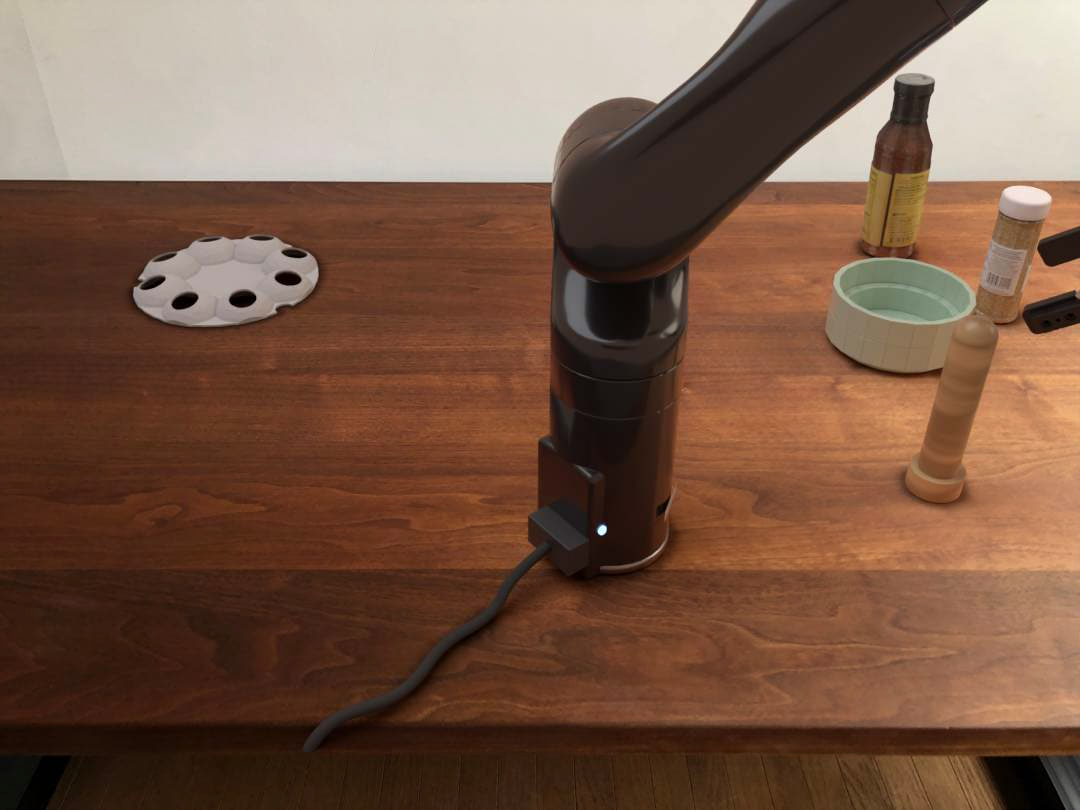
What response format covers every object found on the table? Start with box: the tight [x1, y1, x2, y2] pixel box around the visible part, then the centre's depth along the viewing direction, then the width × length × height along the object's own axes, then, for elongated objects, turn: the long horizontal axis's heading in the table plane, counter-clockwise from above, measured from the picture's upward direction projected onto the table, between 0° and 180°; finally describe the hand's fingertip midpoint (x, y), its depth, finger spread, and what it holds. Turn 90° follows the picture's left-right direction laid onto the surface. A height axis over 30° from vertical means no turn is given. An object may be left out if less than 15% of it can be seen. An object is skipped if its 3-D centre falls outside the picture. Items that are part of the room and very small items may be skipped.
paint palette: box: [132, 233, 320, 328], centre depth 114 cm, size 20×20×2 cm
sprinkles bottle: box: [974, 185, 1053, 324], centre depth 106 cm, size 5×5×14 cm
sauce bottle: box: [860, 72, 936, 259], centre depth 116 cm, size 7×6×20 cm
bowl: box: [824, 257, 976, 374], centre depth 103 cm, size 13×13×6 cm
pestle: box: [904, 314, 1000, 504], centre depth 82 cm, size 4×4×16 cm
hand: (1034, 287), depth 77 cm, fingers open, 8 cm apart
